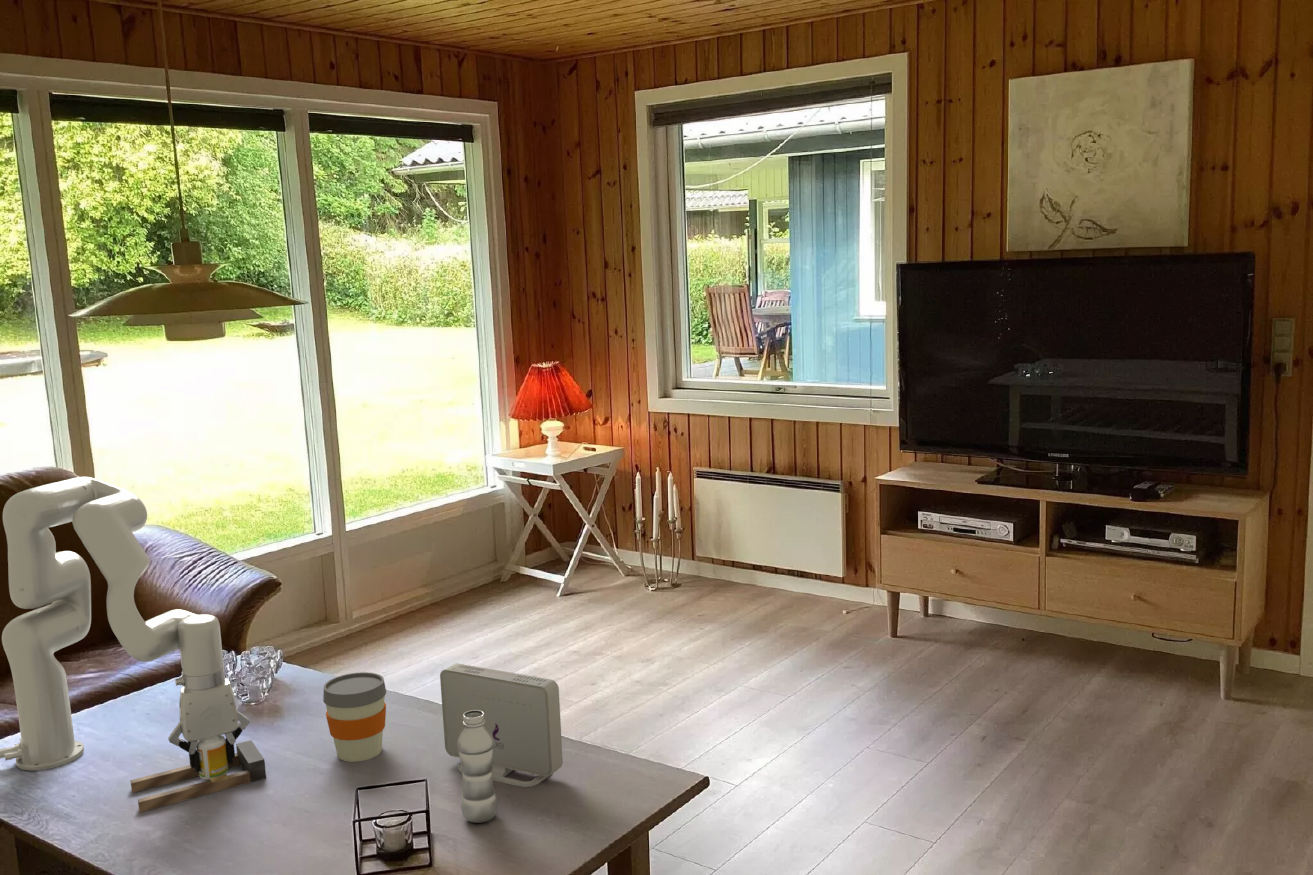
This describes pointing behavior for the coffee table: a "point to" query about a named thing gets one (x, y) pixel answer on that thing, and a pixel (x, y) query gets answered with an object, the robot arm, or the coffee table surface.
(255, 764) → the guide channel
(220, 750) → the supplement bottle
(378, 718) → the reusable coffee cup
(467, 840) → the coffee table surface
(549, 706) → the network device
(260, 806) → the coffee table surface
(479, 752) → the plastic bottle
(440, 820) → the coffee table surface
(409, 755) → the coffee table surface
